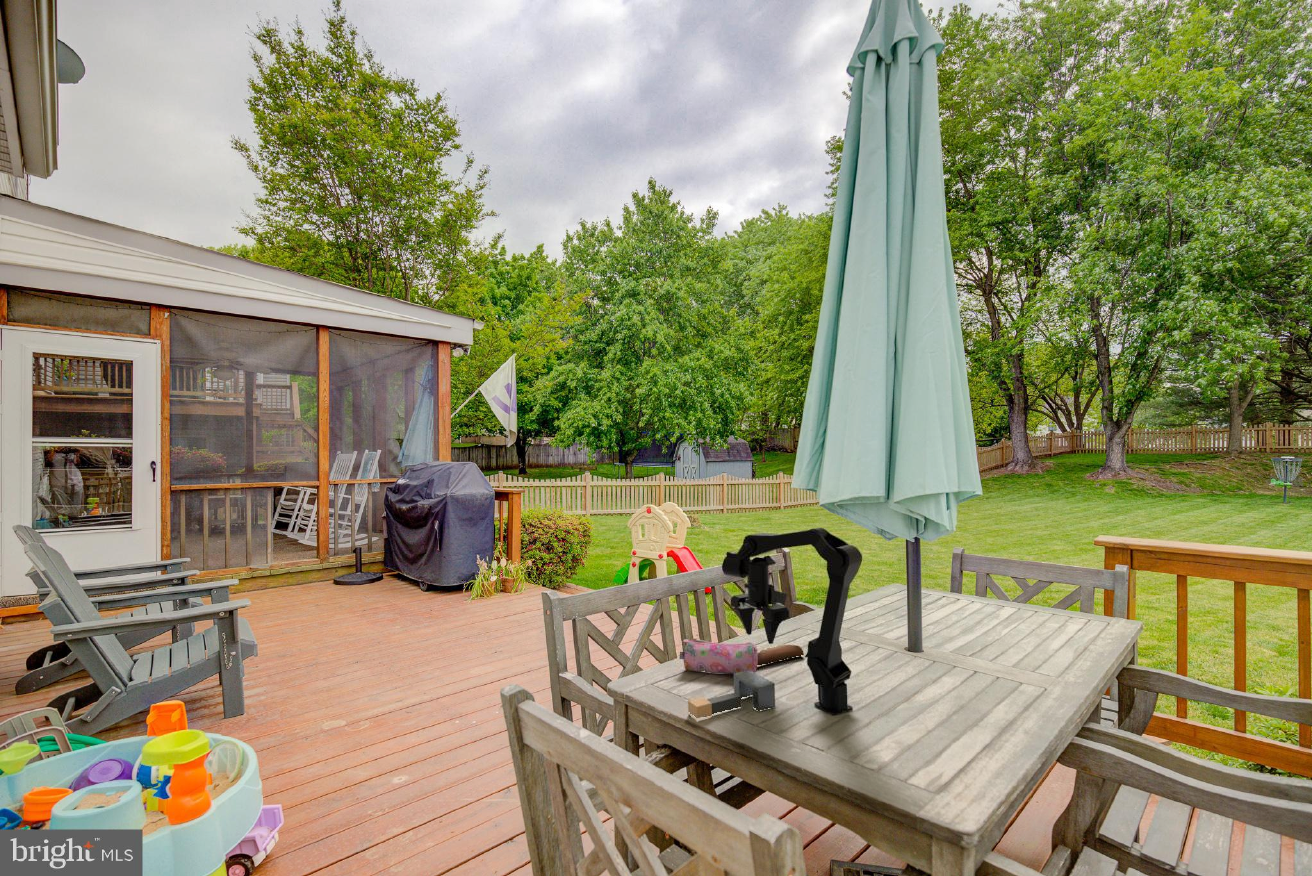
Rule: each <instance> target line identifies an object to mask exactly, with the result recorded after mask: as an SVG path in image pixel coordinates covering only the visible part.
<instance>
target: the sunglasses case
mask: <svg viewBox="0 0 1312 876" xmlns="http://www.w3.org/2000/svg"><path fill="white" fill-rule="evenodd" d="M801 655H805V653H804V650H803V648H802V647H801V646H800V645H795V644H783V645H778V646H773V647H767V648H766V649H761V650H760V651H759V652H757V656H758V664H757V665H762V664H768V663H771V662H774V663H777V662H776V661H779V660H783V661H785V660H784V659H787V658H792V657H796V656H801ZM787 660H788V659H787ZM779 662H780V661H779ZM768 665H769V664H768Z"/></svg>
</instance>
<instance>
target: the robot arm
mask: <svg viewBox="0 0 1312 876" xmlns="http://www.w3.org/2000/svg"><path fill="white" fill-rule="evenodd" d="M809 545H811V546H812V547H813V548H814V550H815V551H816V552H817V554H818V555H819V557H821V558H822V560H824V561H825V562H826V573H827V576H828V580H829V582H828V588H827V593H826V599H825V603H824V609H823V612H822V613H823V614H822V618H821V622H820V624H821V625H820V630H819V634H818V637H816V638H813V639H812V640H811V639H810V640H809V641H808V643H807V652H806V654H804V655H805V656H804V657H805V658H806V665H807V667H808V668H809V671H810V673H811V675H812V678H813V679H812V680H813V682H814V684H815V685H817V693H818V694H817V695H818V696H817V698H818V701H816V702H814V703H813V704H814V707H817V708H819V709H821V710H822V711H825V712H826V713H829V714H830V715H832V716H836V715H838V714H841V713H845V712H848V711H851V710H853V706H851V705H850V704H849V703H848V685H847V684H848V683H846V681H848V680H850V678H851V676H852V673H853V672H852V670H851V668H850V667H849V666H848V665H847V664H846V662H845V661H844V660H843V659H842V655H843V649H842V646H841V642H840V635H841V630H842V627H843V626H842V625H843V621H844V615H845V611H846V607H847V600H848V596H849V591H850V585H851V584H852V582H853V580H855V577H856V576H857V574H858V572H859V570H860V567H861V564H862V561H863V554H862V553H861V551H860V550H859V549H858V547H856V546H854V545H852V544H849V543H847V542H846V541H845V540H843V539H842V538H841V537H840V538H839V537H837V536H836V535H834V534H832V533H830V532H829V531H828V530H827V529H825V528H824V527H815V528H810V529H809V530H808V529H807V530H800V531H799V530H798V531H793V532H787V533H786V532H785V533H781V534H778V533H772V532H759V533H758V532H757V533H753V534H752V533H751V534H748V535H746V536H744V538H743V542H742V545H741V547H740V548H739V550H738V551H737V552H736V551H733V550H731V551H727V552H726V556H725V557H724V559H723V561H722V564H721V568H722V572H723V574H724V575H725V576H728V577H735V578H739V579H746V578H747V582H746V583H744V585H743V586H744V588H745V589H747V593H740V594H735V595H732V597H731V598H730V606H731V607H733V610H734V612H735V613H736V615H737V616H738V618H739V620H740V622H741V623H742V626H743V628H744V630H745V633H746V634H747V635H748V636H750V635H752V632H753V614H754V612H755V610H758V611H759V612H761V613H762V616H763V618H762V620H761V621H762V623H763V626H764V627H763V628H764V631H765V635H766V640H767V642H768V644H770V645H772V644H773V643H774V641H775V639H776V638H775V637H776V634H777V632H778V628H779V626H780V624H781V623H782V622H785V621H786V620H787V619H790V618H791V614H790V613H791V612H790V611H791V610H790V609H789V608H788V607H787V606H786V603H787V598H788V593H785V592H781V591H779V590H775V586H774V585H773V584H772V583H770V570H769V569H770V567H769V566H774V565H776V560H774V559H773V558H772V557H771V555H766V554H769V553H772V552H774V551H777V550H779V549H787V548H795V547H804V546H809ZM764 554H765V556H763V557H762V555H764ZM760 555H761V557H760ZM753 557H754V558H753Z"/></svg>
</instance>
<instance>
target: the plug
mask: <svg viewBox="0 0 1312 876" xmlns="http://www.w3.org/2000/svg"><path fill="white" fill-rule="evenodd" d="M738 707H741V708H742V700H741V696H740V695H738V694H737V693H734V692H732V693H731V692H730V693H727V694H724V695H719V696H715V697H711V698H707V699H706V698H704V697H703V696H701V697H700V696H699V697H697V698H692V699H688V701H687V709H688V710H687V711H688V712H690V714H692V715H694V716H695V717H696V718H700V717H707V716H711V715H712V714H714V713H717V712H722V711H725V710H731V709H733V708H738Z"/></svg>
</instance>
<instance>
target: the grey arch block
mask: <svg viewBox="0 0 1312 876" xmlns="http://www.w3.org/2000/svg"><path fill="white" fill-rule="evenodd" d="M775 687H776V686H775V682H773V681H772V680H769V679H767V678H765V677H763V676H762V675H759V674H758V673H756V672H755V673H754V672H752V671H750V670H748V671H744V672H739V673H735V674H733V693H737V694H738V695H740V696H741V698H742V697H747V696H750V695H753V697H752V708H753V707H754V708H756V710H758V711H760V710H764V709H768V708H772V709H774V708H773V707H775V708H776V689H775ZM756 710H755V711H756ZM758 711H757V712H758Z"/></svg>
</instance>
